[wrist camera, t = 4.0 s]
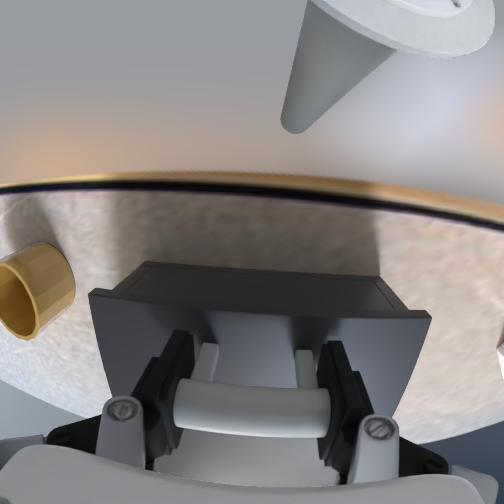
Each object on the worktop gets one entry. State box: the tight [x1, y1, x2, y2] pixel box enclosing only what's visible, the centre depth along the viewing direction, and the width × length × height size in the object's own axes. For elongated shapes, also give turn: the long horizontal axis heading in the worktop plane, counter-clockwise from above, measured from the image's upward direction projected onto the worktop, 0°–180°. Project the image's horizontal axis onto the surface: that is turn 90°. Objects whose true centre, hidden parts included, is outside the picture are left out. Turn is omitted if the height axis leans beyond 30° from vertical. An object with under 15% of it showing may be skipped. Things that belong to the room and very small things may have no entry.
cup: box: [0, 242, 75, 340], centre depth 18 cm, size 6×6×5 cm
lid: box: [88, 288, 432, 487], centre depth 12 cm, size 15×16×5 cm
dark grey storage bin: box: [112, 261, 409, 310], centre depth 18 cm, size 14×16×6 cm
